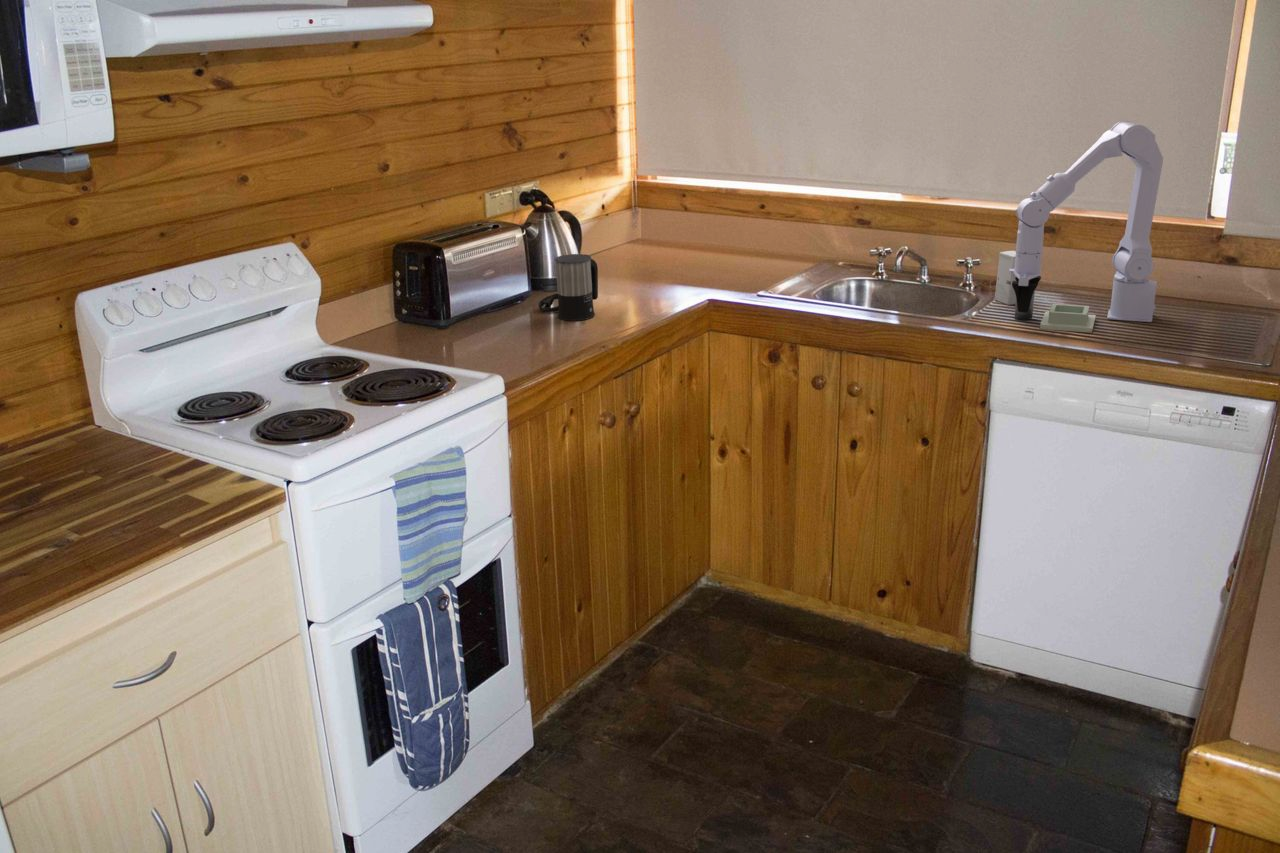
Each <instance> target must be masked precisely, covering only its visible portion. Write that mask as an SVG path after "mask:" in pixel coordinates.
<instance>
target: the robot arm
mask: <svg viewBox="0 0 1280 853" xmlns="http://www.w3.org/2000/svg"><path fill="white" fill-rule="evenodd" d="M1123 154H1125V155H1126V156H1127V158H1128V159H1130V161H1132V163H1133V164H1134V165H1135V166H1136V167H1135V172H1134V178H1133V184H1132V188H1131V189H1132V190H1131V196H1130V201H1129V202H1130V203H1129V206H1128V207H1129V208H1128V214H1127V220H1126V226H1125V232H1124V235H1123V237H1122V238H1121V239H1120V241H1119V245H1118V248H1117V250H1116V251H1115V253H1114V255H1113V256H1112V266H1113V268H1114V269H1115V274H1114V275H1113V284H1112V292H1111V301H1110V309H1108V311H1107V312H1108V313H1107V316H1106V317H1107V318H1106V319H1107V320H1112V321H1113V320H1115V321H1128V322H1129V321H1131V322H1132V321H1133V322H1143V323H1144V322H1145V323H1152V322H1153V316H1154V314H1155V313H1156V305H1155V300H1156V293H1157V285H1158V284H1157V283H1158V282H1157V280H1151V279H1150V280H1149V277H1151V275H1152V274H1153V271H1154V262H1153V258H1152V254H1153V247H1152V244H1151V240H1150V236H1151V232H1152V231H1151V230H1152V224H1153V219H1154V213H1155V208H1156V202H1157V197H1158V192H1159V185H1160V180H1161V174H1162V169H1163V163H1164V157H1163V155H1162V153H1161V150H1160V147H1159V146H1158V143H1157V141H1156V135H1155V133H1154V132H1152V131H1151V130H1150V129H1149V128H1148V127H1146V126H1145V125H1143V124H1136V123H1133V122H1132V121H1129V120H1122V121H1121V120H1120V121H1119V122H1116V123H1115V124H1114V125H1113V126H1112V127H1111V128H1110V129H1108V130H1107V131H1105V132H1103V134H1102V135H1101V136H1100V137H1099V138H1098V140H1097V141H1096V142H1094V144H1092V146H1091V147H1090V148H1089V149H1087V151H1085V152H1084V153H1083V154H1082V155H1081V156H1080V157H1079V158H1078V159H1077V160H1076V161H1075V162H1074V163H1073V164H1072V165H1071V166H1070V167H1069V168H1068V169H1067V170H1066V171H1065V172H1056V173H1055V174H1054V175H1053V174H1050V175H1049V176H1048V177H1046V180H1047V181H1046V182H1045V183H1044V184H1043V185H1041V187H1039V188H1038V189H1037V190H1036V191H1032V192H1031V193H1030V194H1029V195H1030V196H1031V197H1028V198H1024V199H1022V200H1021V202H1019V203H1018V207H1017V208H1016V209H1015V216H1016V217H1017V219H1018V227H1017V228H1018V229H1017V232H1016V233H1017V234H1016V246H1015V251H1016V257H1015V269H1010V270H1009V273H1011V274H1014V275H1015V276H1016V277H1015V279H1016V281H1013V282H1012V287H1013V289H1014V291H1015V294H1016V300H1017V308H1018V312H1026V313H1027V312H1028V310H1029V307H1030V303H1031V299H1032V295H1033V293H1034V291H1036V289H1037V287H1038V286H1039V283H1040V281H1041V279H1042V276H1041V275H1042V270H1041V269H1042V256H1043V246H1044V237H1045V236H1044V234H1045V232H1044V229H1045V223H1047V221H1048V220H1049V219H1050V214H1051V212H1053V211H1054V210H1055V209H1057V207H1059V206H1060V205H1061V204H1062V203H1063V202H1064V201H1065V200H1066V199H1068V198H1069V197H1070V196H1071V195H1072V194H1073V193H1075V188H1076V184H1077V182H1079V181H1080V180H1081V179H1082V178H1084V177H1085V176H1086V175H1087V174H1089V173H1090V172H1091V171H1092V170H1093V169H1095V168H1096V167H1097V166H1098V165H1100V164H1101V163H1102V162H1104V160H1106V159H1111V158H1116V157H1117V158H1118V157H1123Z"/></svg>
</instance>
